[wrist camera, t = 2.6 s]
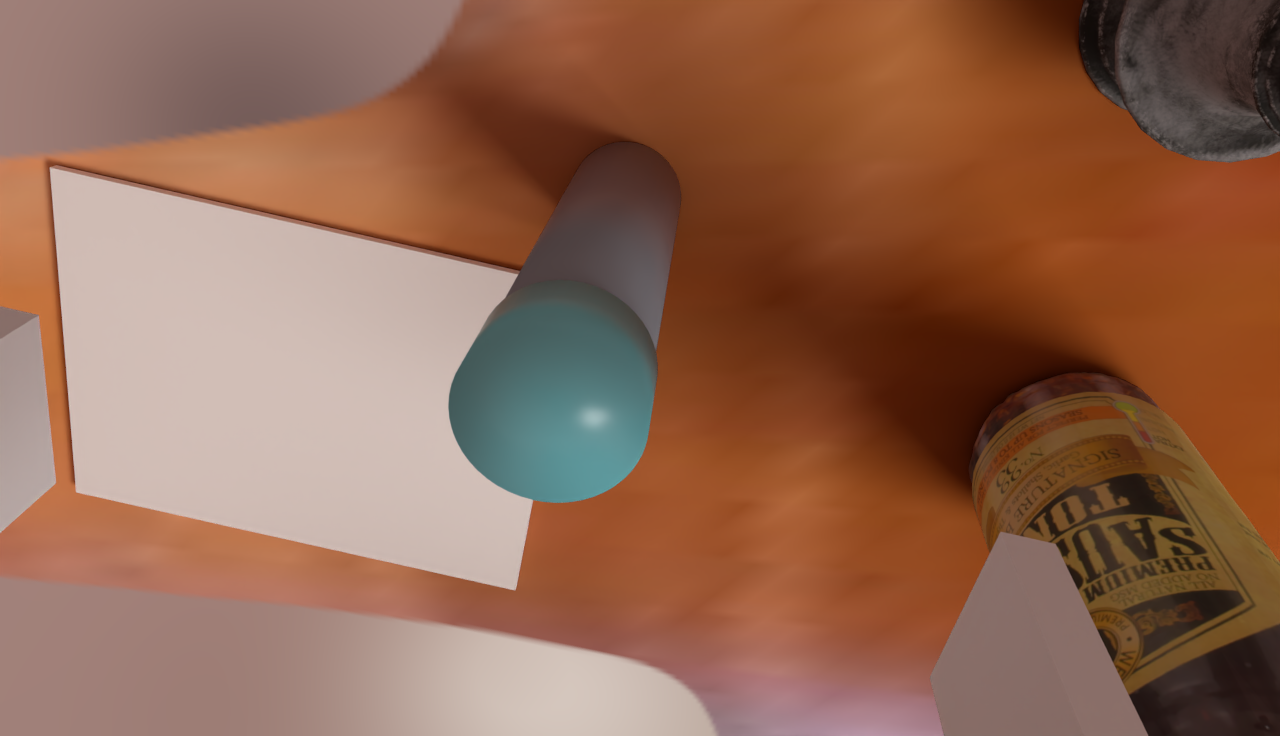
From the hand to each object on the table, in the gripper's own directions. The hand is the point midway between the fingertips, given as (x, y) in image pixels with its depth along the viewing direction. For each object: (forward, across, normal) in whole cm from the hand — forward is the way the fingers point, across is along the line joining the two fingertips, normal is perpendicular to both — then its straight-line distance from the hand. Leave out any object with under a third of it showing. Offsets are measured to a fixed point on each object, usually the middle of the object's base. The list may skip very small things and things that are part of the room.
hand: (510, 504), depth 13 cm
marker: (+16, 0, 0) cm, 16 cm away
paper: (+16, +9, +10) cm, 21 cm away
